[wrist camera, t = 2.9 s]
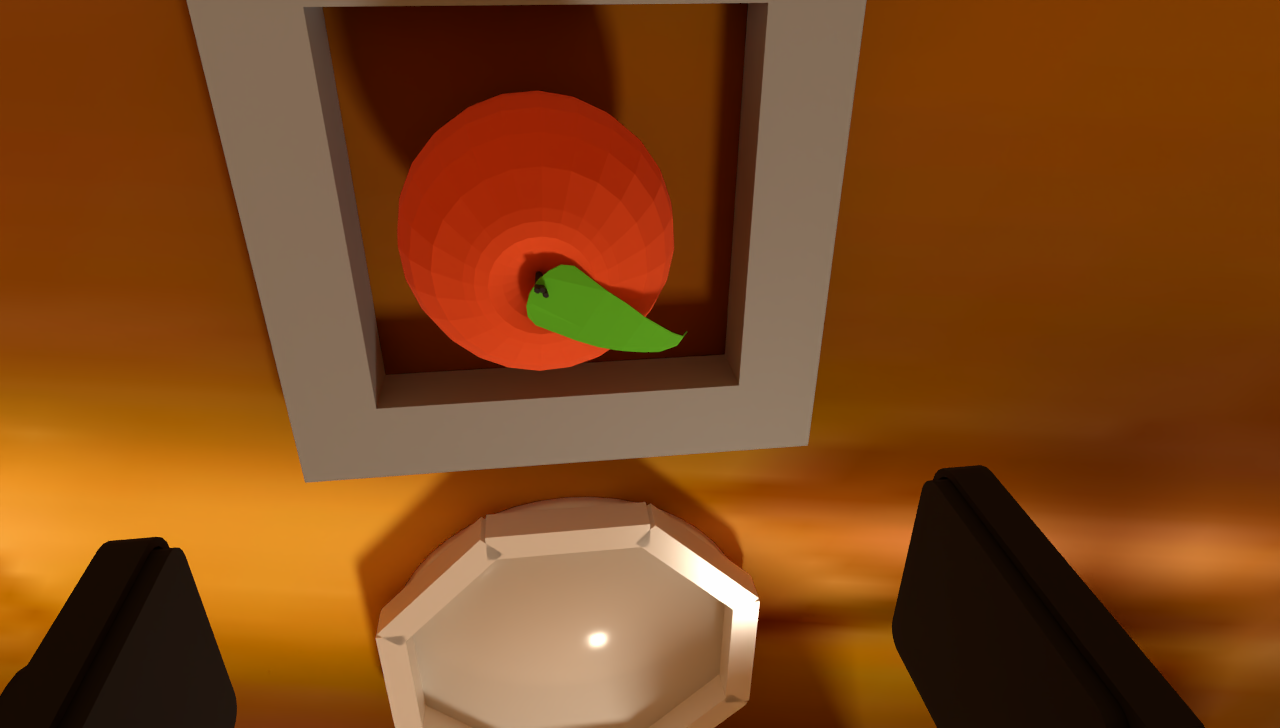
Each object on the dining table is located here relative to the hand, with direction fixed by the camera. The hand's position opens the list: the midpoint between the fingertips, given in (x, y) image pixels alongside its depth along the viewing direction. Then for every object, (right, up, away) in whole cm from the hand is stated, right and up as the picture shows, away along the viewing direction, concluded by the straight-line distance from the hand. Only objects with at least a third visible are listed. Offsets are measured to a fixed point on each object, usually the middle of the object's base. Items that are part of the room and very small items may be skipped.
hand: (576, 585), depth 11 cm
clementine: (-2, +8, +14) cm, 16 cm away
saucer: (-2, -8, +22) cm, 24 cm away
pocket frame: (-2, +8, +13) cm, 16 cm away
